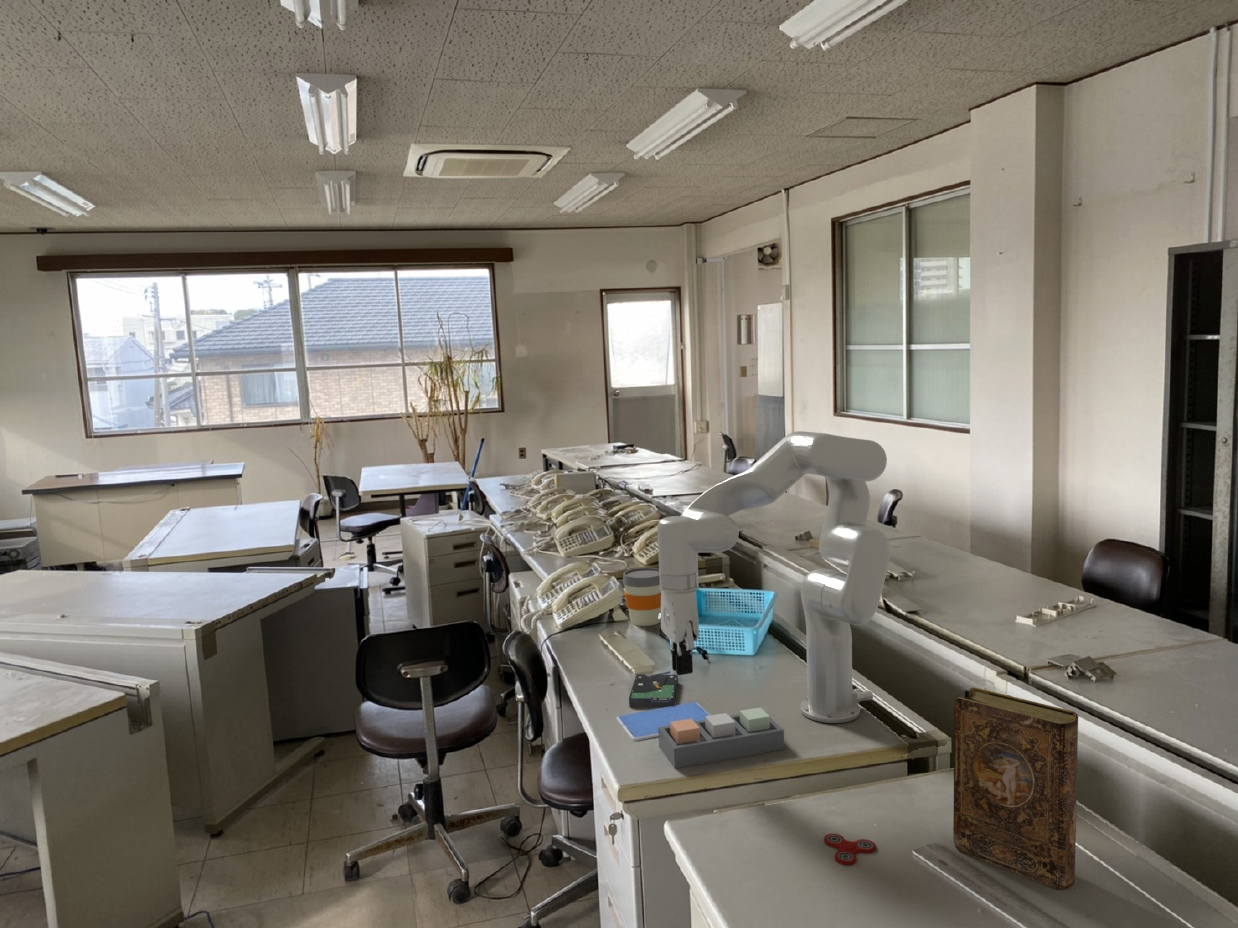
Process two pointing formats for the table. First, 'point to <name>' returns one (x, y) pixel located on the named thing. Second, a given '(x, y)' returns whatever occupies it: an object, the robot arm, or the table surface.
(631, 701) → the disk drive
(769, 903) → the table surface
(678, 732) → the terracotta key
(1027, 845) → the book
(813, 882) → the table surface
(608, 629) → the table surface
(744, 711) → the sage key
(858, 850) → the fidget spinner
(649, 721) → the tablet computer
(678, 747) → the grey compartment tray
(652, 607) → the reusable coffee cup
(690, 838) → the table surface
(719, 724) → the grey key
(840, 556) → the robot arm
